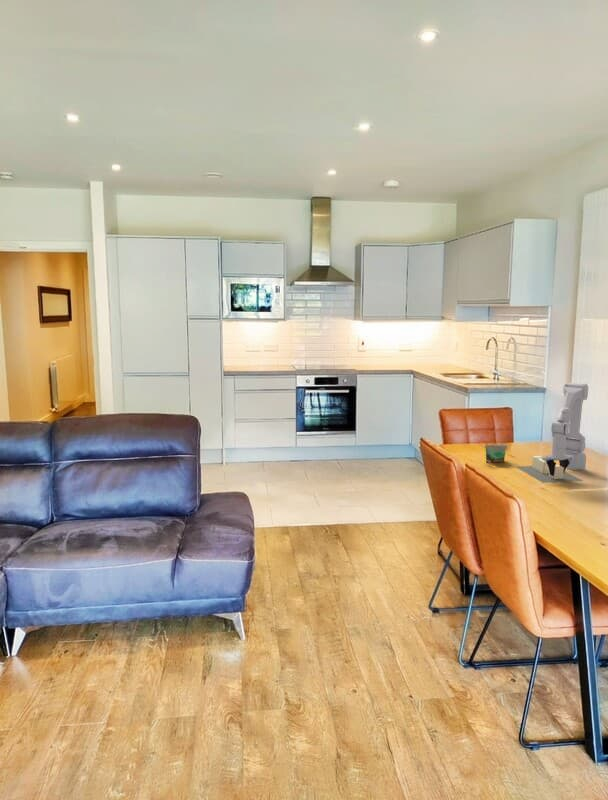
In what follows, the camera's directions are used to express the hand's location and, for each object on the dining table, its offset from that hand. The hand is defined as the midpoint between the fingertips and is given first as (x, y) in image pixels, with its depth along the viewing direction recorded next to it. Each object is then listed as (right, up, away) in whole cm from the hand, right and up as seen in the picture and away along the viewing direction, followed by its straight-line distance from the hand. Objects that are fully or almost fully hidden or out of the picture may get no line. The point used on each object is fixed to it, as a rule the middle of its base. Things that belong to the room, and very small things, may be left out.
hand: (556, 475), depth 258 cm
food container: (-18, +2, +28) cm, 33 cm away
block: (0, -1, +1) cm, 2 cm away
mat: (-1, -1, +8) cm, 8 cm away
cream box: (-1, +1, +13) cm, 13 cm away
